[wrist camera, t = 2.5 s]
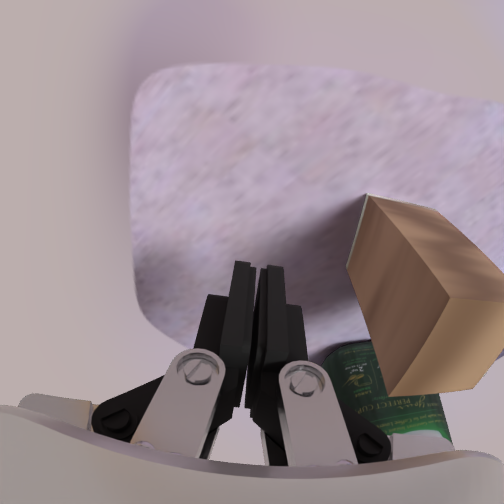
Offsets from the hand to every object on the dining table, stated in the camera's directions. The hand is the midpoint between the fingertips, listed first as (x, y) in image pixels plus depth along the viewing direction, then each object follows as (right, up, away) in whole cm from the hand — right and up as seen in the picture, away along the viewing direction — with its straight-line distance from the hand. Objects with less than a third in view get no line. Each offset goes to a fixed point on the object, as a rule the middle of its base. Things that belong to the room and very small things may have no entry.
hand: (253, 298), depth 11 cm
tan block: (+9, +3, +7) cm, 11 cm away
